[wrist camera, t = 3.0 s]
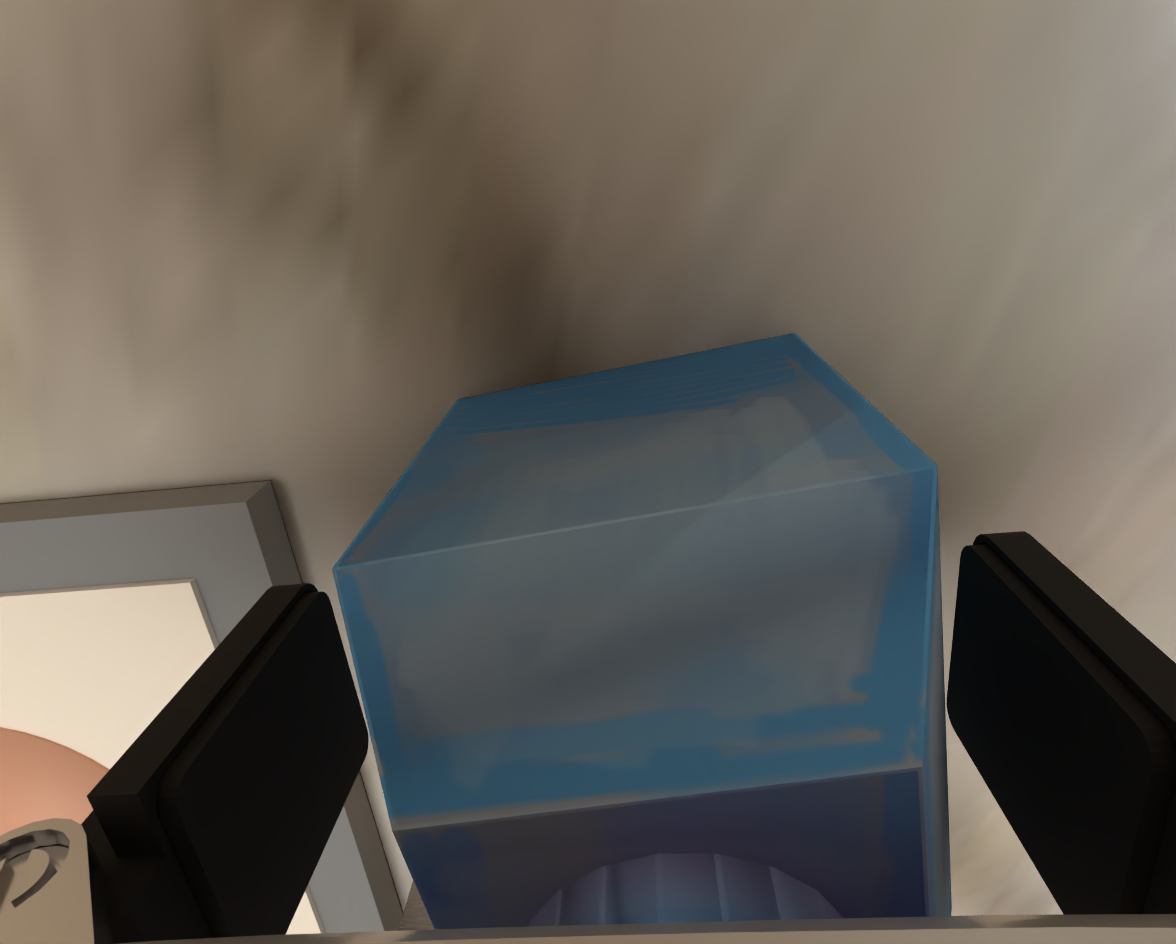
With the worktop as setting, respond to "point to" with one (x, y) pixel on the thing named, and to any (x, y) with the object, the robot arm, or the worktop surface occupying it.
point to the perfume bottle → (660, 651)
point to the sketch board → (145, 656)
